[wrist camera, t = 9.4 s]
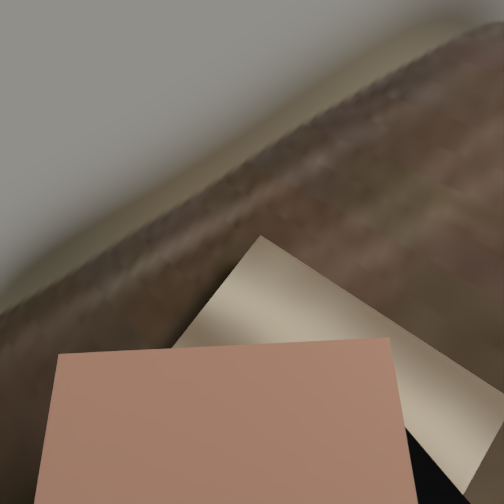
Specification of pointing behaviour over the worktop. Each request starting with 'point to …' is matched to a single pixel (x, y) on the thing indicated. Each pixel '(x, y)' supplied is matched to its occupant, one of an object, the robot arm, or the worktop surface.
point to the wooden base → (354, 327)
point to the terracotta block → (228, 426)
